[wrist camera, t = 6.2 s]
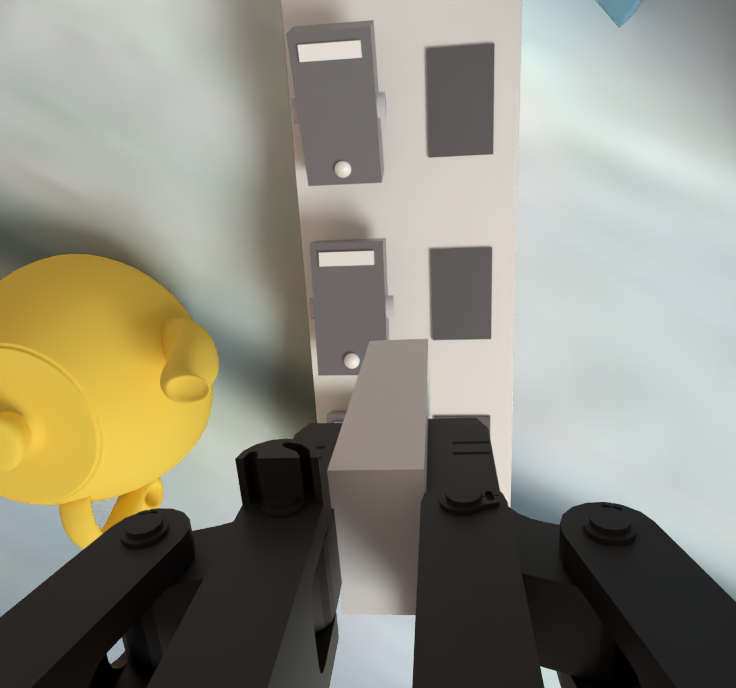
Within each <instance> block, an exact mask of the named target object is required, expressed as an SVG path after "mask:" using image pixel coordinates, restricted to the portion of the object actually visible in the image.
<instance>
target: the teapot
mask: <svg viewBox="0 0 736 688" xmlns="http://www.w3.org/2000/svg"><path fill="white" fill-rule="evenodd" d="M218 369H219V359H218V354H217V350H216V346H215V344H214V342H213V340H212V337H211V336H210V335H209V333H208V332H207V330H205V329H204V328H203V327H202V326H201V325H199V324H197V323H195V322H194V321H193V320H192V318H191V317H190V315H189V314H188V312H187V311H186V310H185V308H184V307H183V306H182V305H181V304H180V303H179V301H178V300H177V299H176V298H175V297H174V296H173V295H172V294H171V293H170V292H169V291H168V290H167V289H166V288H165V287H163V286H162V285H161V284H160V283H158V282H157V281H156V280H154V279H153V278H151V277H150V276H148V275H146V274H145V273H143V272H141V271H139V270H138V269H136V268H133V267H131V266H129V265H126V264H124V263H122V262H119V261H115V260H112V259H108V258H105V257H101V256H94V255H88V254H66V255H57V256H52V257H49V258H45V259H41V260H38V261H36V262H33V263H30V264H28V265H26V266H24V267H21V268H19V269H17V270H15V271H14V272H12V273H11V274H9V275H7V276H6V277H4V278H3V279H1V280H0V496H2V497H4V498H7V499H10V500H14V501H17V502H22V503H28V504H39V505H59V511H60V516H61V521H62V524H63V528H64V530H65V532H66V534H67V535H68V537H69V538H70V539H71V540H72V541H73V542H74V543H75V544H76V545H77V546H78V547H80V548H82V549H85V548H86V547H87V546H88V545H90V544H91V543H92V542H93V541H94V540H96V539H97V538H98V537H99V536H101V535H102V534H103V533H104V532H105V531H107V530H108V529H109V528H110V527H112V526H113V525H115V524H116V523H118V522H120V521H121V520H123V519H124V518H126V517H129V516H132V515H134V514H137V513H138V512H140V511H144V510H150V509H156V508H159V507H160V505H161V503H162V500H163V486H162V482H161V480H160V478H159V477H160V476H162V475H163V474H165V473H166V472H167V471H169V470H170V469H172V468H173V467H174V466H176V465H177V464H178V463H179V462H180V461H181V460H182V459H183V458H184V457H185V456H186V455H187V454H188V453H189V452H190V451H191V449H192V448H193V447H194V446H195V444H196V443H197V442H198V440H199V439H200V437H201V435H202V433H203V431H204V429H205V427H206V424H207V422H208V419H209V416H210V411H211V406H212V399H213V382H214V380H215V379H216V377H217V374H218ZM117 496H119V497H118V499H117V502H116V504H115V506H114V508H113V510H112V512H111V514H110V516H109V518H108V520H107V522H106V524H105V525H104V527H103V528H102V530H101V529H100V528H99V526H98V525H97V523H96V520H95V518H94V515H93V511H92V507H91V502H95V501H101V500H106V499H111V498H114V497H117Z"/></svg>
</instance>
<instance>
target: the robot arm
mask: <svg viewBox="0 0 736 688" xmlns="http://www.w3.org/2000/svg"><path fill="white" fill-rule="evenodd" d="M235 460H236V466H237V473H238V479H239V485H240V491H241V498H242V504H243V505H242V507H241V509H240V511H239V513H238V514H237V516H236V518H235V520H234V521H233V522H231V523H227V524H223V525H220V526H215V527H210V528H205V529H200V530H195V531H192V529H191V524H190V519H189V518H188V517H187V516H186V514H185V513H184V512H181V511H178V510H175V509H159V508H156V509H150V510H144V511H140V512H138V513H137V514H134V515H132V516H129V517H126V518H124V519H123V520H121V521H120V522H118V523H116V524H115V525H113V526H112V527H110V528H109V529H108V530H107V531H105V532H104V533H103V534H102V535H101V536H99V537H98V538H97V539H96V540H94V541H93V542H92V543H91V544H90V545H88V546H87V547H86V548H85V549H83V550H82V551H81V552H80V553H79V554H77V555H76V556H75V557H74V558H72V559H71V560H70V561H69V562H68V563H66V564H65V565H64V566H63V567H61V568H60V569H59V570H58V571H57V572H55V573H54V574H53V575H52V576H50V577H49V578H48V579H47V580H46V581H44V582H43V583H42V584H41V585H39V586H38V587H37V588H36V589H35V590H33V591H32V592H31V593H30V594H28V595H27V596H26V597H25V598H24V599H22V600H21V601H20V602H19V603H17V604H16V605H15V606H14V607H13V608H11V609H10V610H9V611H8V612H6V613H5V614H4V615H3V616H1V617H0V688H329V685H330V680H331V675H332V670H333V664H334V659H335V654H336V649H337V643H338V638H339V637H338V624H337V615H336V609H337V604H338V599H339V594H340V593H341V602H342V611H343V614H380V615H416V620H415V642H414V665H413V688H544V684H543V679H542V674H541V669H540V666H542V667H545V668H548V669H552V670H555V671H557V675H558V678H559V682H560V685H561V687H562V688H736V602H735V601H734V600H733V599H732V598H731V597H730V596H729V595H728V594H727V593H726V592H725V591H724V590H723V589H722V588H721V587H720V586H719V585H718V584H717V583H716V582H715V581H714V580H713V579H712V578H711V577H710V576H709V575H708V574H707V573H706V572H705V571H704V570H703V569H702V568H701V567H700V566H699V565H698V564H697V563H696V562H695V561H694V560H693V559H692V558H691V557H690V556H689V555H688V554H687V553H686V552H685V551H684V550H683V549H682V548H681V547H680V546H679V545H678V544H677V543H675V542H674V541H673V540H672V539H671V538H670V537H669V536H668V535H667V534H666V533H665V532H664V531H663V530H662V529H661V528H660V527H659V526H658V525H657V524H656V523H655V522H654V521H653V520H651V519H650V518H648V517H647V516H646V515H644V514H643V513H641V512H639V511H637V510H634V509H631V508H629V507H626V506H624V505H620V504H615V503H614V504H612V503H608V502H596V503H585V504H581V505H578V506H574V507H572V508H571V509H569V510H568V511H567V512H565V513H564V514H563V515H562V519H561V522H560V525H557V524H552V523H546V522H542V521H538V520H534V519H530V518H528V517H526V516H523V515H521V514H519V513H517V512H516V511H514V510H513V509H511V508H510V507H509V506H508V502H507V500H506V498H505V496H504V495H503V493H502V492H501V491H500V488H499V483H498V477H497V472H496V467H495V461H494V456H493V451H492V445H491V440H490V435H489V429H488V428H487V427H486V426H485V425H484V424H483V423H482V422H481V421H479V420H478V419H477V418H437V419H432V404H431V384H430V363H429V343H428V339H404V340H380V341H370V342H369V345H368V348H367V351H366V354H365V357H364V360H363V363H362V366H361V369H360V372H359V375H358V378H357V381H356V384H355V387H354V390H353V393H352V397H351V400H350V403H349V406H348V409H347V412H346V415H345V418H344V421H343V423H310V424H309V425H307V426H306V427H305V428H303V429H302V430H301V431H299V432H298V433H297V434H295V436H294V438H293V439H279V440H270V441H267V442H263V443H260V444H256V445H254V446H252V447H250V448H248V449H246V450H244V451H243V452H242V453H241V454H240V455H239V456H238V457H237V458H236V459H235ZM121 637H122V639H123V643H124V647H125V652H124V653H123V654H122V655H121V656H120V657H119V658H118V659H117V660H116V661H114V662H113V663H112V664H110V663H109V662H108V658H107V654H106V653H107V652H108V651H109V650H110V649H111V648H112V647H113V646H114V645H115V644H116V643H117V641H118V640H119V639H120V638H121Z"/></svg>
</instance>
